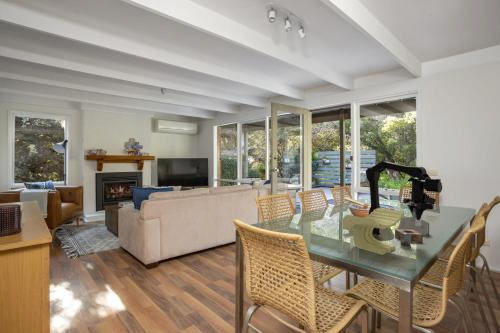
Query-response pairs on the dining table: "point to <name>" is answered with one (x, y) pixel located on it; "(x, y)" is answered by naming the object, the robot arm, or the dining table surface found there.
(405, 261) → the dining table surface
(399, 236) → the socket block
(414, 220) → the square bit
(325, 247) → the dining table surface
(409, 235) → the cylinder
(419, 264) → the dining table surface
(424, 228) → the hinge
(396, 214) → the slatted curved stool
